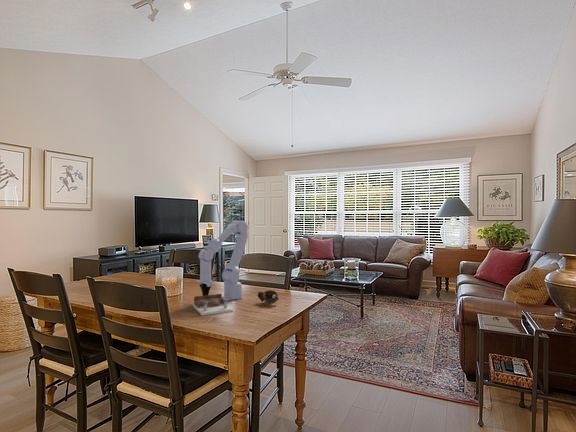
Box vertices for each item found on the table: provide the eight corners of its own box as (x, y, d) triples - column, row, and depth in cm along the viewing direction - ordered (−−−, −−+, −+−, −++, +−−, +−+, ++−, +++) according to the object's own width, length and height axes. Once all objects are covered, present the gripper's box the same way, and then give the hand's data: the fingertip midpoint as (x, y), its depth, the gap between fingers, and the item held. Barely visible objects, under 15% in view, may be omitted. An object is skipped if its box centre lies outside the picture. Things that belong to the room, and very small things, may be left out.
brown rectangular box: (220, 300, 179) (220, 293, 179) (226, 304, 171) (226, 297, 171) (194, 303, 172) (194, 296, 172) (198, 307, 164) (198, 300, 164)
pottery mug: (280, 303, 183) (281, 291, 178) (273, 314, 175) (274, 303, 171) (260, 295, 186) (261, 284, 182) (252, 307, 178) (253, 295, 174)
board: (221, 302, 179) (221, 293, 179) (232, 311, 164) (232, 300, 164) (192, 306, 172) (192, 296, 172) (201, 315, 156) (202, 304, 156)
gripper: (194, 270, 184) (194, 295, 184) (201, 274, 171) (201, 301, 171) (207, 269, 187) (207, 294, 187) (215, 273, 174) (214, 300, 174)
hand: (205, 297), depth 179 cm, fingers closed
